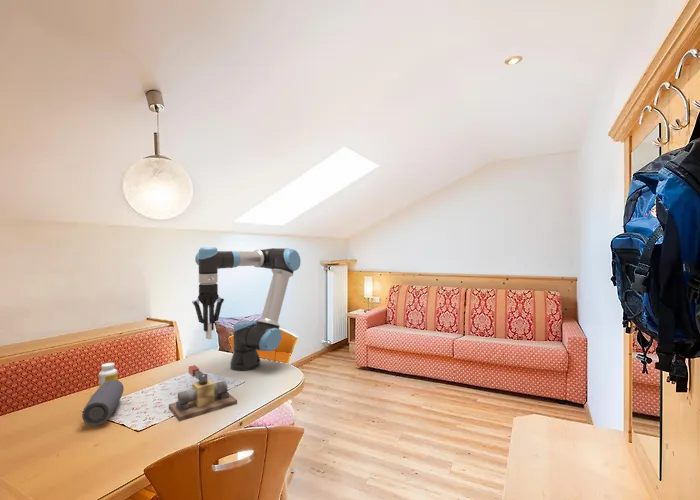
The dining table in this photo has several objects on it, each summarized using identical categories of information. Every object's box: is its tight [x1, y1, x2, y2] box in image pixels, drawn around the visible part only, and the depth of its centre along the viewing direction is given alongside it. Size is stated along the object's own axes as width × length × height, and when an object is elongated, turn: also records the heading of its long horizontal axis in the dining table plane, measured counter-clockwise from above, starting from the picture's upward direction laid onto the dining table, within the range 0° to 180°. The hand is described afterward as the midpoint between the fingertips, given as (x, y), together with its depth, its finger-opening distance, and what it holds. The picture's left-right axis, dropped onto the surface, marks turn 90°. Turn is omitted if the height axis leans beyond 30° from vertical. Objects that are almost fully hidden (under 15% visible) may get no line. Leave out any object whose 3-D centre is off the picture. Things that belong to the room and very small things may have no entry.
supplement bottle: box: [98, 362, 118, 388], centre depth 158 cm, size 7×7×13 cm
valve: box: [168, 378, 238, 422], centre depth 147 cm, size 22×14×9 cm, turn 131°
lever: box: [188, 364, 208, 384], centre depth 152 cm, size 16×3×3 cm, turn 41°
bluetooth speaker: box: [81, 379, 125, 426], centre depth 140 cm, size 23×9×10 cm, turn 21°
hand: (208, 338), depth 158 cm, fingers closed
